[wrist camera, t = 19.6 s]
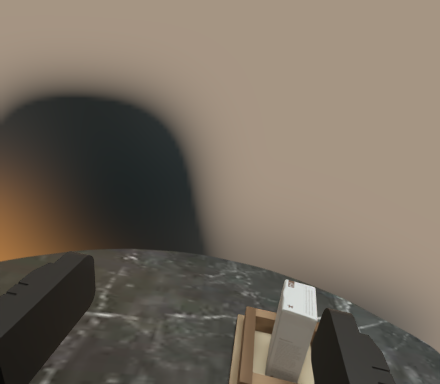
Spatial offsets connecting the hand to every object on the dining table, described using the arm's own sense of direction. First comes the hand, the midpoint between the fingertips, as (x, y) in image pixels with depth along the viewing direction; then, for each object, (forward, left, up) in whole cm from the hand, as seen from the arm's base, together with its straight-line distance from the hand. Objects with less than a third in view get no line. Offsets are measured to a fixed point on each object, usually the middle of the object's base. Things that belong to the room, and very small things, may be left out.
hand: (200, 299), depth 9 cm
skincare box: (+10, +21, -29) cm, 37 cm away
